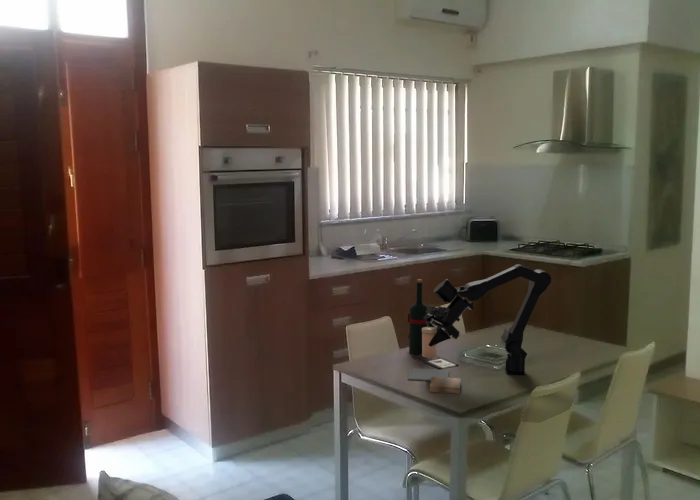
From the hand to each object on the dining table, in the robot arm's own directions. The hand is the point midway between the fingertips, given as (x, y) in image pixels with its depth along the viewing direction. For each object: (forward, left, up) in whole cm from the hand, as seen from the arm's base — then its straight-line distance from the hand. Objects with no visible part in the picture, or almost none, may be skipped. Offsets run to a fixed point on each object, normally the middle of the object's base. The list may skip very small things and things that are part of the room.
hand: (426, 343), depth 241 cm
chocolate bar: (-2, -19, -13) cm, 23 cm away
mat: (-1, -1, -12) cm, 12 cm away
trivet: (-8, +11, -12) cm, 18 cm away
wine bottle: (+6, -31, -12) cm, 33 cm away
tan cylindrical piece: (-1, -1, -5) cm, 5 cm away
